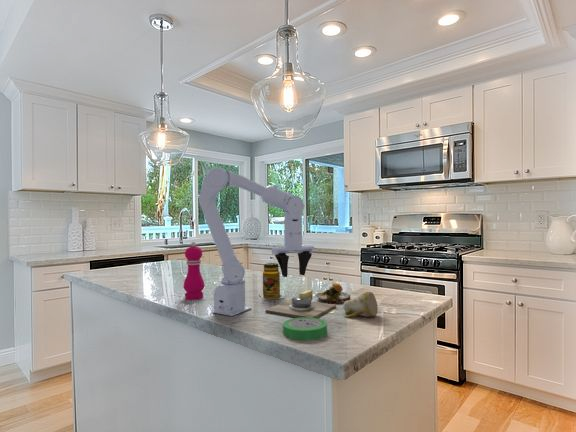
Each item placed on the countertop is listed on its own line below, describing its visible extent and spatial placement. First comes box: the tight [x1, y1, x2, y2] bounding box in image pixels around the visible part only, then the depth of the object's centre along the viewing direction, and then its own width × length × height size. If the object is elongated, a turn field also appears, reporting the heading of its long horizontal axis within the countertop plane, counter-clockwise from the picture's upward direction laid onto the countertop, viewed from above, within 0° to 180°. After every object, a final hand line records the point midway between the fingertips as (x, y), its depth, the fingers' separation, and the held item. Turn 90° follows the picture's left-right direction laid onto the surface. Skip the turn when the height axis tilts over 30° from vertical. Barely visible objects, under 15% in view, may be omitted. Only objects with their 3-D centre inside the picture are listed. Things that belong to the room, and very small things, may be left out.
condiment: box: [259, 262, 285, 301], centre depth 132 cm, size 7×8×12 cm
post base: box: [265, 298, 337, 319], centre depth 114 cm, size 16×16×1 cm
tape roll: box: [282, 317, 328, 341], centre depth 93 cm, size 11×11×3 cm
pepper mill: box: [183, 241, 205, 301], centre depth 131 cm, size 7×7×20 cm
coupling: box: [291, 289, 313, 308], centre depth 115 cm, size 9×6×4 cm, turn 149°
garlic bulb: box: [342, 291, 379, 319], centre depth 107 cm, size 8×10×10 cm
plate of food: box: [315, 279, 351, 304], centre depth 127 cm, size 12×12×8 cm
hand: (293, 275), depth 118 cm, fingers open, 6 cm apart
